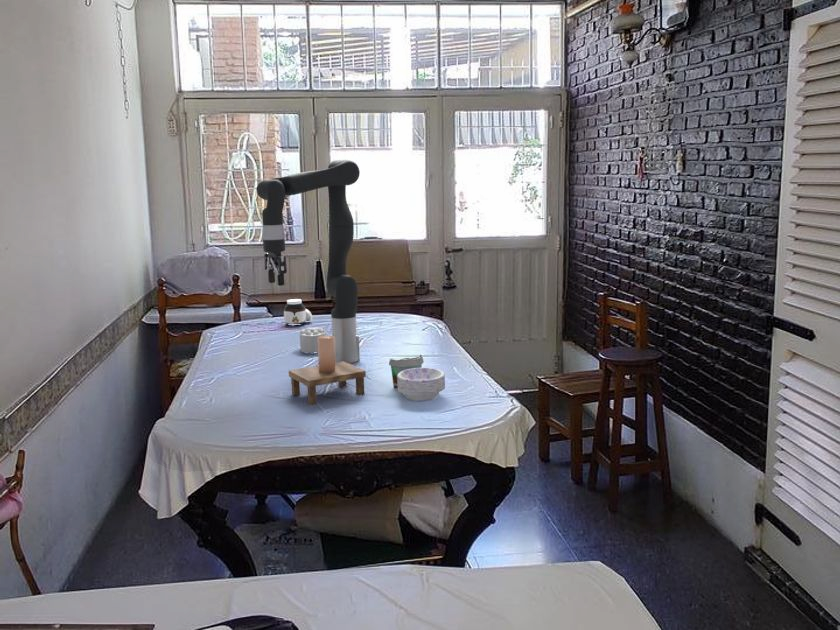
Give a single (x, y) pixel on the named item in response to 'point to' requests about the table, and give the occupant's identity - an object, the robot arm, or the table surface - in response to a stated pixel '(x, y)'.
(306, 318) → the spread jar
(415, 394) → the paper bowls
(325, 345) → the peach rounded cylinder
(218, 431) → the table surface
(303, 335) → the lumpy-topped squat cylinder
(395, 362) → the food container
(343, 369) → the footstool
